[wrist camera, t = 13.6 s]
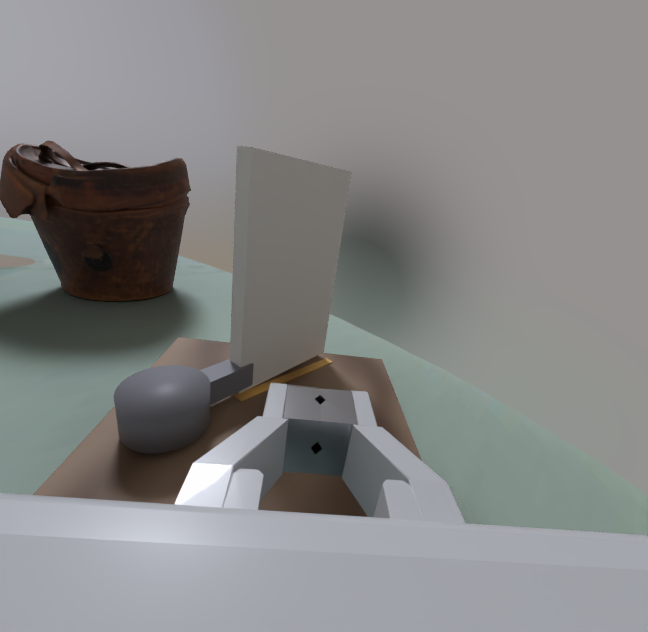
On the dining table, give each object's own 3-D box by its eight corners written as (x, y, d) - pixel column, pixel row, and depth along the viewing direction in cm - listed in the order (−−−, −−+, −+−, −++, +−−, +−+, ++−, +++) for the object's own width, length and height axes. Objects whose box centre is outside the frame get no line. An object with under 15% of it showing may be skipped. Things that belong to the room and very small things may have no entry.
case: (8, 276, 42) (-26, 122, 36) (162, 265, 57) (158, 155, 50) (38, 326, 32) (-1, 124, 25) (217, 297, 47) (221, 165, 40)
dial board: (19, 539, 14) (11, 515, 14) (178, 350, 31) (178, 336, 30) (446, 565, 16) (455, 544, 15) (378, 372, 33) (382, 358, 32)
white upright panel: (143, 469, 16) (110, 104, 10) (103, 420, 19) (58, 107, 13) (339, 360, 30) (372, 174, 24) (299, 340, 32) (320, 168, 26)
